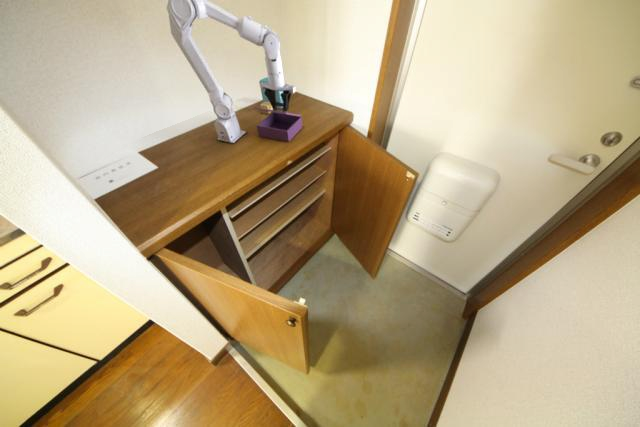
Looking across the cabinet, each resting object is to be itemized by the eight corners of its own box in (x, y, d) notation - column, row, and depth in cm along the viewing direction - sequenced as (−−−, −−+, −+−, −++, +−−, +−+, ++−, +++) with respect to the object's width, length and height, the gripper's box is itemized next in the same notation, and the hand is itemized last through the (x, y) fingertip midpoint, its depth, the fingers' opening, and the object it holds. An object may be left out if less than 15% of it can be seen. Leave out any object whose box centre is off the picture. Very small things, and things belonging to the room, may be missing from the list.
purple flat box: (288, 142, 91) (287, 131, 87) (258, 136, 94) (256, 125, 91) (302, 127, 99) (301, 116, 95) (274, 122, 103) (272, 112, 99)
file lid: (286, 114, 83) (286, 102, 81) (253, 108, 87) (253, 97, 85) (301, 116, 95) (302, 106, 94) (272, 111, 99) (273, 102, 97)
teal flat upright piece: (287, 106, 114) (283, 80, 105) (281, 109, 111) (277, 83, 102) (269, 101, 118) (264, 76, 109) (263, 105, 116) (258, 79, 107)
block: (268, 114, 108) (267, 105, 105) (261, 113, 109) (260, 104, 106) (273, 110, 111) (271, 102, 108) (266, 109, 112) (264, 101, 109)
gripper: (297, 70, 82) (300, 107, 92) (264, 67, 86) (270, 103, 96) (288, 76, 78) (293, 115, 88) (253, 72, 81) (261, 109, 92)
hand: (280, 109), depth 92 cm, fingers closed on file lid, 5 cm apart
